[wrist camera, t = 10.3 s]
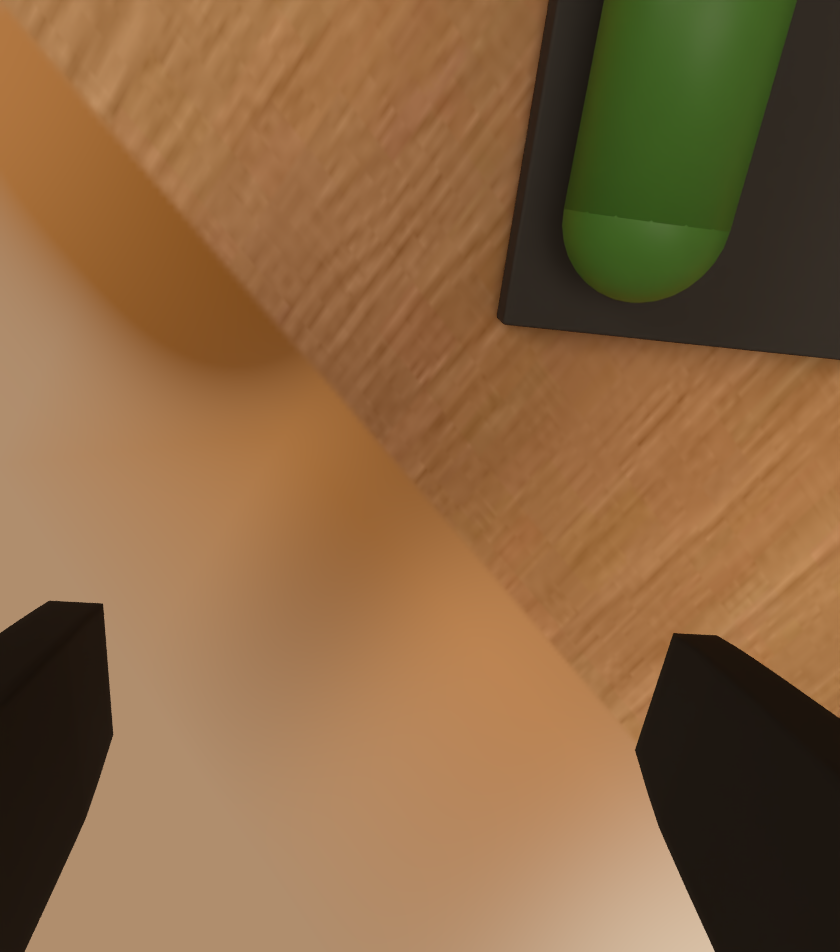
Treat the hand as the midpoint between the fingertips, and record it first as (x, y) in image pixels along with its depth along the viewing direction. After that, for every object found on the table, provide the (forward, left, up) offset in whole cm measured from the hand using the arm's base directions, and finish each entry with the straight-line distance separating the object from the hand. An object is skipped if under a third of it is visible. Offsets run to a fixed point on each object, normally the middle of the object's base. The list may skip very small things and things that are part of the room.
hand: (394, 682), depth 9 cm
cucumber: (+5, +9, -7) cm, 12 cm away
